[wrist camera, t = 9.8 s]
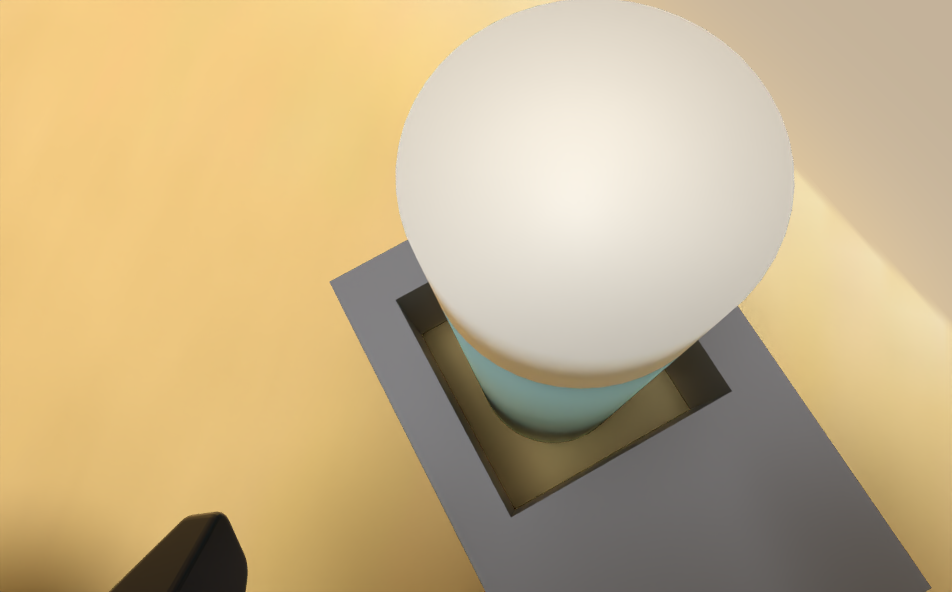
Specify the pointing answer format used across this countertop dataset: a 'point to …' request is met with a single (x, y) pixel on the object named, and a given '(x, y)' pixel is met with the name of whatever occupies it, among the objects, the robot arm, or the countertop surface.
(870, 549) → the socket
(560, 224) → the peg
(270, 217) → the countertop surface
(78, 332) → the countertop surface
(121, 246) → the countertop surface
